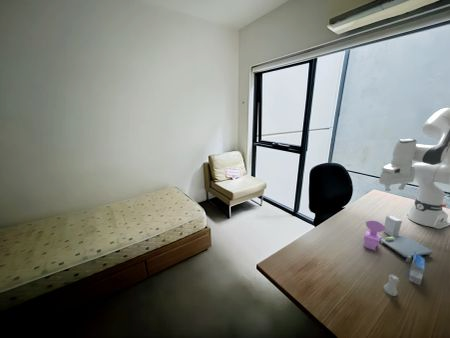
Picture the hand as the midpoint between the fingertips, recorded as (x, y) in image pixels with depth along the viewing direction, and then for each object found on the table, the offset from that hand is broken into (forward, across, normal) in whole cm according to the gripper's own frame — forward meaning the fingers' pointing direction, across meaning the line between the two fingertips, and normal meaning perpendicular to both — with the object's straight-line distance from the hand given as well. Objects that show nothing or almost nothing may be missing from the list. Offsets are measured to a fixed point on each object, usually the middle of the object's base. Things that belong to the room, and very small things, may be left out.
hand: (394, 190), depth 109 cm
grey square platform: (+28, +6, +16) cm, 33 cm away
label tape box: (+28, +20, +31) cm, 46 cm away
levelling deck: (+25, +14, +16) cm, 33 cm away
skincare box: (+29, 0, +4) cm, 29 cm away
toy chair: (+28, +21, +10) cm, 36 cm away
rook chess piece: (+28, +38, +35) cm, 58 cm away
